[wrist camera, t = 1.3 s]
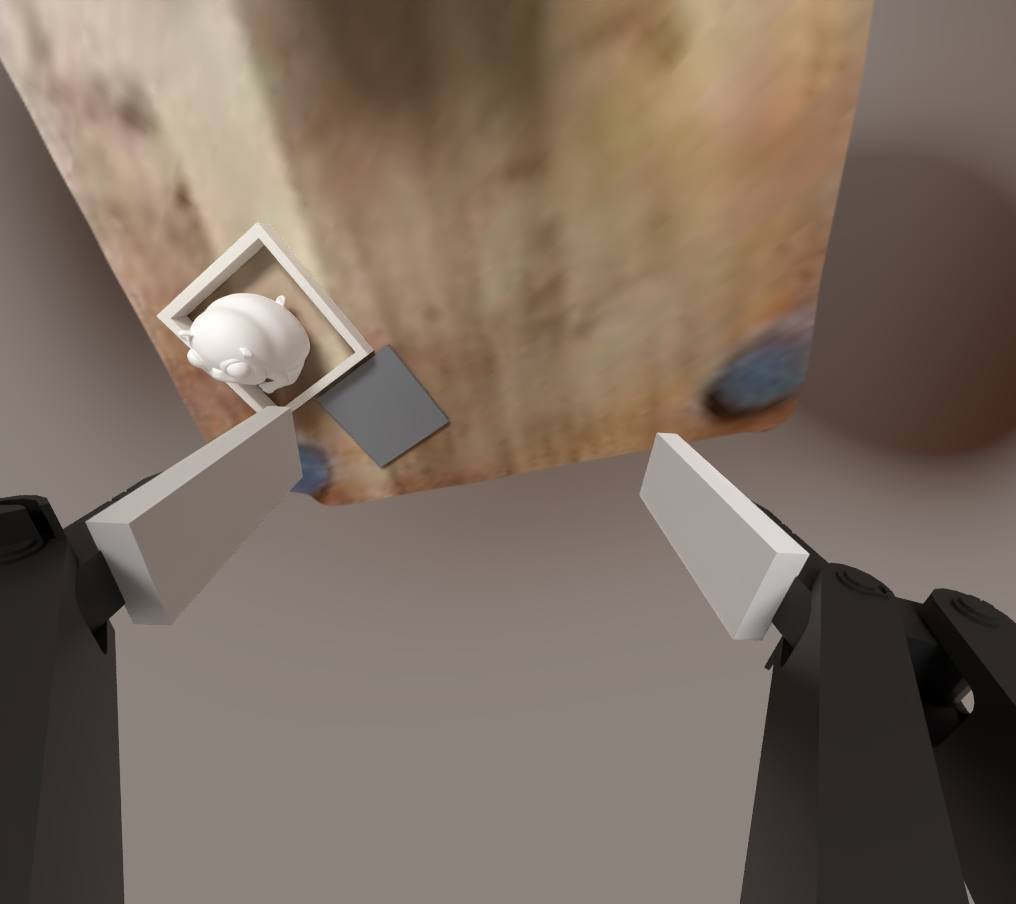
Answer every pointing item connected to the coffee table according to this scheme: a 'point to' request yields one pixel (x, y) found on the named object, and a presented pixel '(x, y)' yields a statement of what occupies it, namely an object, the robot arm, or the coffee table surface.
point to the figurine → (248, 341)
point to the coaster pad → (383, 407)
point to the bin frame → (270, 238)
